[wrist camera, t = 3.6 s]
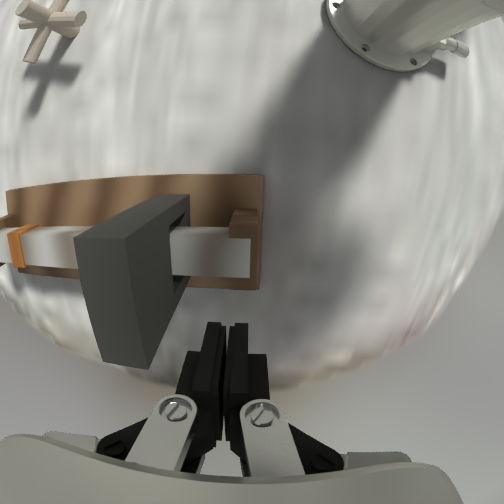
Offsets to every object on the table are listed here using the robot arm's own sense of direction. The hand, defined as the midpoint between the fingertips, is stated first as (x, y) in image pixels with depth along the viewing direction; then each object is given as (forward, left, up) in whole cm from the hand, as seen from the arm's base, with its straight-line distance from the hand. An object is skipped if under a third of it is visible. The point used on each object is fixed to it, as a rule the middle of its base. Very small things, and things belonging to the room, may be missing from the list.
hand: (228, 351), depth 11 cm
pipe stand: (+14, 0, -17) cm, 22 cm away
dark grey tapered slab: (+6, -1, -15) cm, 16 cm away
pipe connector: (+20, -24, -17) cm, 36 cm away
